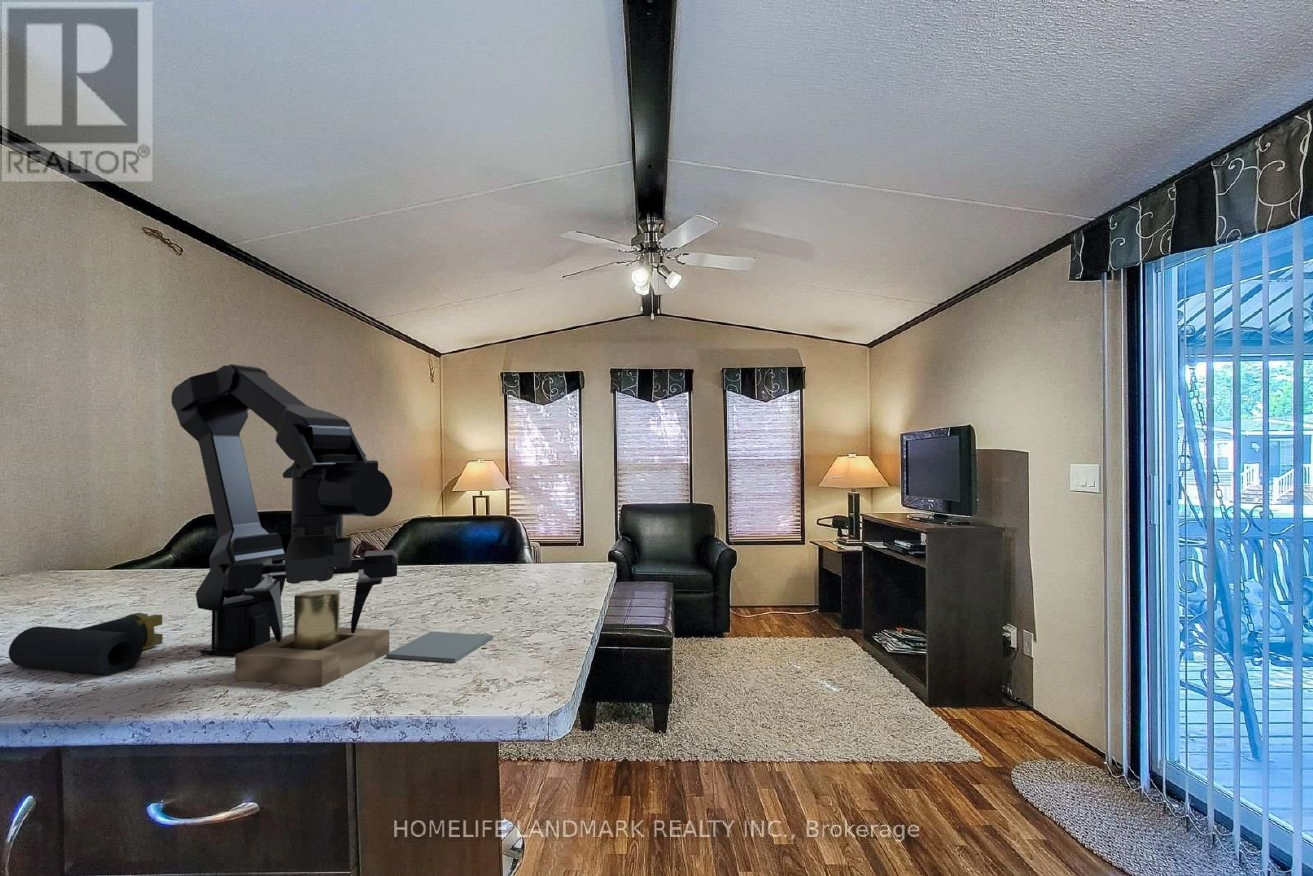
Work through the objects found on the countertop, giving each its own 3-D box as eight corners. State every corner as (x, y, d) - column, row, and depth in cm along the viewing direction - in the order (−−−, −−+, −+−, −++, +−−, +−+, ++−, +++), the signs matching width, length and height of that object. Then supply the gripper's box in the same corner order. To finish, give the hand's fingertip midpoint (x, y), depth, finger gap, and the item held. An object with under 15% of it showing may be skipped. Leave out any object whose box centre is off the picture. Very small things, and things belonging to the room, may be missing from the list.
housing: (235, 679, 70) (235, 654, 70) (313, 647, 82) (313, 625, 82) (321, 686, 68) (321, 660, 68) (389, 652, 80) (389, 630, 80)
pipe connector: (111, 607, 86) (192, 612, 82) (111, 643, 86) (193, 650, 82) (8, 632, 74) (97, 639, 71) (8, 674, 74) (97, 683, 71)
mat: (386, 657, 77) (386, 654, 77) (430, 635, 87) (430, 631, 87) (455, 662, 75) (455, 658, 75) (492, 638, 85) (492, 635, 85)
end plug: (284, 671, 73) (284, 598, 73) (315, 657, 78) (315, 589, 78) (318, 673, 72) (319, 599, 72) (348, 659, 77) (348, 590, 77)
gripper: (210, 524, 64) (208, 668, 64) (396, 515, 72) (396, 645, 71) (236, 515, 75) (235, 639, 74) (397, 508, 82) (397, 621, 82)
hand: (317, 636), depth 75 cm, fingers open, 8 cm apart
